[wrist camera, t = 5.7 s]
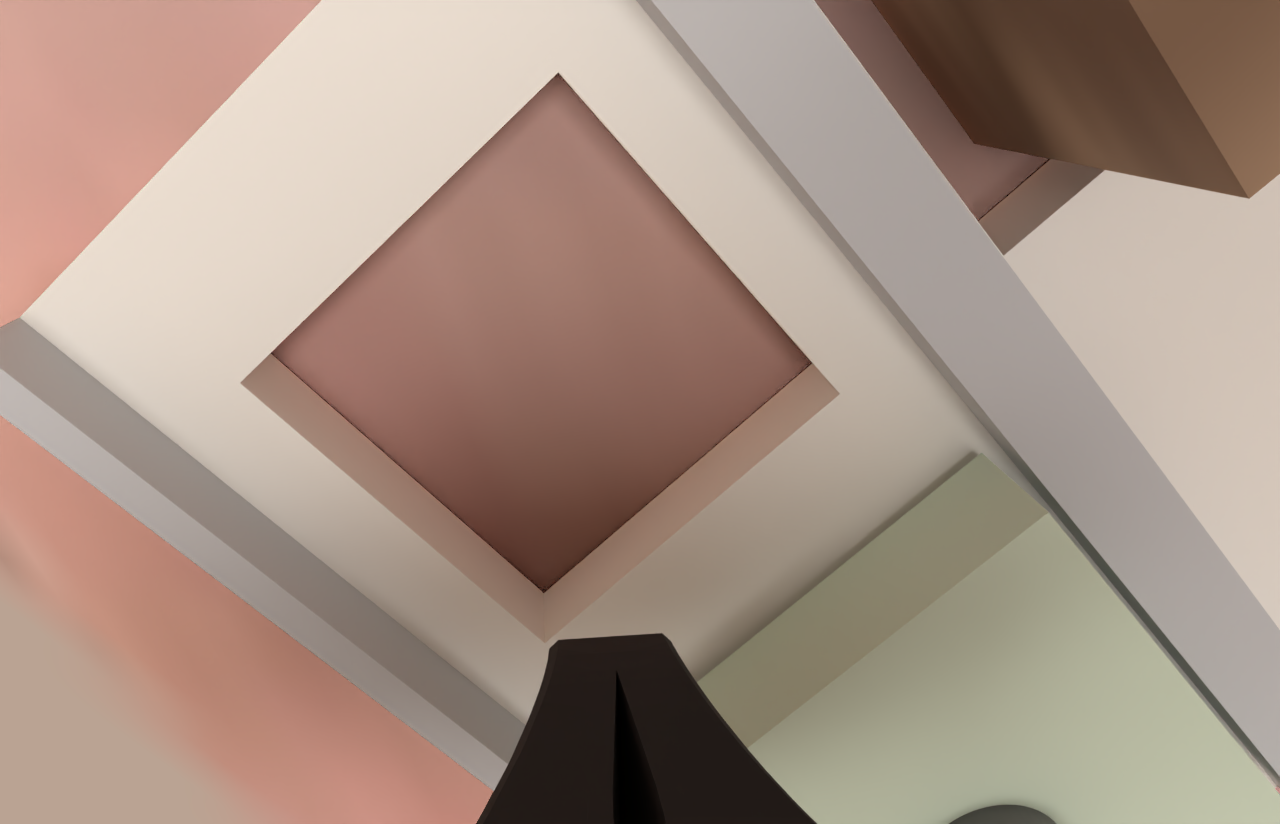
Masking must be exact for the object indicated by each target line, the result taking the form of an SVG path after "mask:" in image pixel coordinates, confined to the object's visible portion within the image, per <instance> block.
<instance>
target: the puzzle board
mask: <svg viewBox="0 0 1280 824" xmlns="http://www.w3.org/2000/svg"><path fill="white" fill-rule="evenodd" d="M557 73H559V75H560V76H561V77H562V78H563V79H564V80H565V81H566V82H567V84H568V85H569V86H570V87H571V88H572V89H573V90H574V92H575V93H576V94H577V95H578V96H579V97H580V98H581V100H582V101H583V102H584V103H585V104H586V105H587V106H588V108H589V109H590V110H591V111H592V112H593V113H594V114H595V116H596V117H597V118H598V119H599V120H600V121H601V122H602V124H603V125H604V126H605V127H606V128H607V129H608V130H609V132H610V133H611V134H612V135H613V136H614V137H615V138H616V140H617V141H618V142H619V143H620V144H621V145H622V146H623V148H624V149H625V150H626V151H627V152H628V153H629V154H630V156H631V157H632V158H633V159H634V160H635V161H636V162H637V164H638V165H639V166H640V167H641V168H642V169H643V170H644V172H645V173H646V174H647V175H648V176H649V177H650V178H651V180H652V181H653V182H654V183H655V184H656V185H657V186H658V188H659V189H660V190H661V191H662V192H663V193H664V194H665V196H666V197H667V198H668V199H669V200H670V201H671V202H672V204H673V205H674V206H675V207H676V208H677V209H678V210H679V212H680V213H681V214H682V215H683V216H684V217H685V218H686V220H687V221H688V222H689V223H690V224H691V225H692V226H693V228H694V229H695V230H696V231H697V232H698V233H699V234H700V236H701V237H702V238H703V239H704V240H705V241H706V242H707V244H708V245H709V246H710V247H711V248H712V249H713V250H714V252H715V253H716V254H717V255H718V256H719V257H720V258H721V260H722V261H723V262H724V263H725V264H726V265H727V266H728V268H729V269H730V270H731V271H732V272H733V273H734V274H735V276H736V277H737V278H738V279H739V280H740V281H741V282H742V284H743V285H744V286H745V287H746V288H747V289H748V290H749V292H750V293H751V294H752V295H753V296H754V297H755V298H756V300H757V301H758V302H759V303H760V304H761V305H762V306H763V307H764V309H765V310H766V311H767V312H768V313H769V314H770V315H771V317H772V318H773V319H774V320H775V321H776V322H777V323H778V325H779V326H780V327H781V328H782V329H783V330H784V331H785V333H786V334H787V335H788V336H789V337H790V338H791V339H792V341H793V342H794V343H795V344H796V345H797V346H798V347H799V349H800V350H801V351H802V352H803V353H804V354H805V355H806V357H807V358H808V359H809V360H810V361H811V362H812V364H811V365H810V366H808V367H807V368H806V369H805V370H804V371H803V372H801V373H800V374H799V375H798V376H797V377H796V378H794V379H793V380H792V381H791V382H790V383H789V384H787V385H786V386H785V387H784V388H783V389H782V390H780V391H779V392H778V393H777V394H776V395H775V396H773V397H772V398H771V399H770V400H769V401H768V402H766V403H765V404H764V405H763V406H762V407H761V408H759V409H758V410H757V411H756V412H755V413H754V414H752V415H751V416H750V417H749V418H748V419H747V420H745V421H744V422H743V423H742V424H741V425H740V426H738V427H737V428H736V429H735V430H734V431H733V432H731V433H730V434H729V435H728V436H727V437H726V438H724V439H723V440H722V441H721V442H720V443H719V444H717V445H716V446H715V447H714V448H713V449H712V450H710V451H709V452H708V453H707V454H706V455H705V456H703V457H702V458H701V459H700V460H699V461H698V462H696V463H695V464H694V465H693V466H692V467H691V468H689V469H688V470H687V471H686V472H685V473H684V474H682V475H681V476H680V477H679V478H678V479H677V480H675V481H674V482H673V483H672V484H671V485H670V486H668V487H667V488H666V489H665V490H664V491H663V492H661V493H660V494H659V495H658V496H657V497H656V498H654V499H653V500H652V501H651V502H650V503H649V504H647V505H646V506H645V507H644V508H643V509H642V510H640V511H639V512H638V513H637V514H636V515H635V516H633V517H632V518H631V519H630V520H629V521H627V522H626V523H625V524H624V525H623V526H622V527H620V528H619V529H618V530H617V531H616V532H615V533H613V534H612V535H611V536H610V537H609V538H608V539H606V540H605V541H604V542H603V543H602V544H601V545H599V546H598V547H597V548H596V549H595V550H594V551H592V552H591V553H590V554H589V555H588V556H587V557H585V558H584V559H583V560H582V561H581V562H580V563H578V564H577V565H576V566H575V567H574V568H573V569H571V570H570V571H569V572H568V573H567V574H566V575H564V576H563V577H562V578H561V579H560V580H559V581H557V582H556V583H555V584H554V585H553V586H552V587H550V588H549V589H548V590H547V591H546V592H545V593H543V592H542V591H541V590H540V589H538V588H537V587H536V586H535V585H534V584H533V583H532V582H531V581H529V580H528V579H527V578H526V577H525V576H524V575H523V574H521V573H520V572H519V571H518V570H517V569H516V568H515V567H513V566H512V565H511V564H510V563H509V562H508V561H507V560H505V559H504V558H503V557H502V556H501V555H500V554H499V553H497V552H496V551H495V550H494V549H493V548H492V547H491V546H490V545H488V544H487V543H486V542H485V541H484V540H483V539H482V538H480V537H479V536H478V535H477V534H476V533H475V532H474V531H472V530H471V529H470V528H469V527H468V526H467V525H466V524H464V523H463V522H462V521H461V520H460V519H459V518H458V517H456V516H455V515H454V514H453V513H452V512H451V511H450V510H449V509H447V508H446V507H445V506H444V505H443V504H442V503H441V502H439V501H438V500H437V499H436V498H435V497H434V496H433V495H431V494H430V493H429V492H428V491H427V490H426V489H425V488H423V487H422V486H421V485H420V484H419V483H418V482H417V481H415V480H414V479H413V478H412V477H411V476H410V475H409V474H408V473H406V472H405V471H404V470H403V469H402V468H401V467H400V466H398V465H397V464H396V463H395V462H394V461H393V460H392V459H390V458H389V457H388V456H387V455H386V454H385V453H384V452H382V451H381V450H380V449H379V448H378V447H377V446H376V445H374V444H373V443H372V442H371V441H370V440H369V439H368V438H367V437H365V436H364V435H363V434H362V433H361V432H360V431H359V430H357V429H356V428H355V427H354V426H353V425H352V424H351V423H349V422H348V421H347V420H346V419H345V418H344V417H343V416H341V415H340V414H339V413H338V412H337V411H336V410H335V409H333V408H332V407H331V406H330V405H329V404H328V403H327V402H326V401H324V400H323V399H322V398H321V397H320V396H319V395H318V394H316V393H315V392H314V391H313V390H312V389H311V388H310V387H308V386H307V385H306V384H305V383H304V382H303V381H302V380H300V379H299V378H298V377H297V376H296V375H295V374H294V373H292V372H291V371H290V370H289V369H288V368H287V367H286V366H285V365H283V364H282V363H281V362H280V361H279V360H278V359H277V358H275V357H274V356H273V355H272V354H271V352H272V351H273V350H274V349H275V348H276V347H277V346H278V345H279V344H280V343H281V342H282V341H283V340H284V339H285V338H286V337H287V336H289V335H290V334H291V333H292V332H293V331H294V330H295V329H296V328H297V327H298V326H299V325H300V324H301V323H302V322H303V321H304V320H305V319H306V318H307V317H308V316H309V315H310V314H311V313H312V312H313V311H314V310H315V309H316V308H317V307H318V306H319V305H320V304H321V303H322V302H323V301H324V300H325V299H326V298H327V297H329V296H330V295H331V294H332V293H333V292H334V291H335V290H336V289H337V288H338V287H339V286H340V285H341V284H342V283H343V282H344V281H345V280H346V279H347V278H348V277H349V276H350V275H351V274H352V273H353V272H354V271H355V270H356V269H357V268H358V267H359V266H360V265H361V264H362V263H363V262H364V261H365V260H366V259H367V258H369V257H370V256H371V255H372V254H373V253H374V252H375V251H376V250H377V249H378V248H379V247H380V246H381V245H382V244H383V243H384V242H385V241H386V240H387V239H388V238H389V237H390V236H391V235H392V234H393V233H394V232H395V231H396V230H397V229H398V228H399V227H400V226H401V225H402V224H403V223H404V222H405V221H406V220H407V219H408V218H410V217H411V216H412V215H413V214H414V213H415V212H416V211H417V210H418V209H419V208H420V207H421V206H422V205H423V204H424V203H425V202H426V201H427V200H428V199H429V198H430V197H431V196H432V195H433V194H434V193H435V192H436V191H437V190H438V189H439V188H440V187H441V186H442V185H443V184H444V183H445V182H446V181H447V180H448V179H450V178H451V177H452V176H453V175H454V174H455V173H456V172H457V171H458V170H459V169H460V168H461V167H462V166H463V165H464V164H465V163H466V162H467V161H468V160H469V159H470V158H471V157H472V156H473V155H474V154H475V153H476V152H477V151H478V150H479V149H480V148H481V147H482V146H483V145H484V144H485V143H486V142H487V141H488V140H489V139H491V138H492V137H493V136H494V135H495V134H496V133H497V132H498V131H499V130H500V129H501V128H502V127H503V126H504V125H505V124H506V123H507V122H508V121H509V120H510V119H511V118H512V117H513V116H514V115H515V114H516V113H517V112H518V111H519V110H520V109H521V108H522V107H523V106H524V105H525V104H526V103H527V102H528V101H529V100H531V99H532V98H533V97H534V96H535V95H536V94H537V93H538V92H539V91H540V90H541V89H542V88H543V87H544V86H545V85H546V84H547V83H548V82H549V81H550V80H551V79H552V78H553V77H554V76H555V75H556V74H557ZM0 415H1V416H2V417H3V418H5V419H6V420H7V421H9V422H10V423H11V424H13V425H14V426H15V427H17V428H18V429H19V430H21V431H22V432H23V433H24V434H26V435H27V436H28V437H30V438H31V439H32V440H34V441H35V442H36V443H38V444H39V445H40V446H42V447H43V448H44V449H45V450H47V451H48V452H49V453H51V454H52V455H53V456H55V457H56V458H57V459H59V460H60V461H61V462H63V463H64V464H65V465H66V466H68V467H69V468H70V469H72V470H73V471H74V472H76V473H77V474H78V475H80V476H81V477H82V478H84V479H85V480H86V481H87V482H89V483H90V484H91V485H93V486H94V487H95V488H97V489H98V490H99V491H101V492H102V493H103V494H105V495H106V496H107V497H108V498H110V499H111V500H112V501H114V502H115V503H116V504H118V505H119V506H120V507H122V508H123V509H124V510H126V511H127V512H128V513H129V514H131V515H132V516H133V517H135V518H136V519H137V520H139V521H140V522H141V523H143V524H144V525H145V526H147V527H148V528H149V529H150V530H152V531H153V532H154V533H156V534H157V535H158V536H160V537H161V538H162V539H164V540H165V541H166V542H168V543H169V544H170V545H171V546H173V547H174V548H175V549H177V550H178V551H179V552H181V553H182V554H183V555H185V556H186V557H187V558H189V559H190V560H191V561H192V562H194V563H195V564H196V565H198V566H199V567H200V568H202V569H203V570H204V571H206V572H207V573H208V574H210V575H211V576H212V577H213V578H215V579H216V580H217V581H219V582H220V583H221V584H223V585H224V586H225V587H227V588H228V589H229V590H231V591H232V592H233V593H234V594H236V595H237V596H238V597H240V598H241V599H242V600H244V601H245V602H246V603H248V604H249V605H250V606H252V607H253V608H254V609H255V610H257V611H258V612H259V613H261V614H262V615H263V616H265V617H266V618H267V619H269V620H270V621H271V622H273V623H274V624H275V625H276V626H278V627H279V628H280V629H282V630H283V631H284V632H286V633H287V634H288V635H290V636H291V637H292V638H294V639H295V640H296V641H297V642H299V643H300V644H301V645H303V646H304V647H305V648H307V649H308V650H309V651H311V652H312V653H313V654H315V655H316V656H317V657H318V658H320V659H321V660H322V661H324V662H325V663H326V664H328V665H329V666H330V667H332V668H333V669H334V670H336V671H337V672H338V673H339V674H341V675H342V676H343V677H345V678H346V679H347V680H349V681H350V682H351V683H353V684H354V685H355V686H357V687H358V688H359V689H360V690H362V691H363V692H364V693H366V694H367V695H368V696H370V697H371V698H372V699H374V700H375V701H376V702H378V703H379V704H380V705H381V706H383V707H384V708H385V709H387V710H388V711H389V712H391V713H392V714H393V715H395V716H396V717H397V718H399V719H400V720H401V721H402V722H404V723H405V724H406V725H408V726H409V727H410V728H412V729H413V730H414V731H416V732H417V733H418V734H420V735H421V736H422V737H423V738H425V739H426V740H427V741H429V742H430V743H431V744H433V745H434V746H435V747H437V748H438V749H439V750H441V751H442V752H443V753H444V754H446V755H447V756H448V757H450V758H451V759H452V760H454V761H455V762H456V763H458V764H459V765H460V766H462V767H463V768H464V769H465V770H467V771H468V772H469V773H471V774H472V775H473V776H475V777H476V778H477V779H479V780H480V781H481V782H483V783H484V784H485V785H486V786H488V787H489V788H490V789H492V790H493V791H494V790H495V788H496V786H497V784H498V782H499V781H500V779H501V777H502V775H503V773H504V771H505V769H506V767H507V765H508V763H509V761H510V759H511V757H512V755H513V753H514V750H515V748H516V746H517V744H518V741H519V739H520V737H521V735H522V732H523V730H524V728H525V725H526V723H527V721H528V719H529V716H530V714H531V711H532V709H533V706H534V703H535V701H536V698H537V695H538V692H539V690H540V686H541V683H542V680H543V677H544V673H545V669H546V665H547V661H548V654H549V648H550V647H551V646H552V645H554V644H555V643H556V642H557V641H558V640H562V639H578V638H593V637H609V636H624V635H640V634H655V633H663V634H664V635H665V636H666V637H667V638H668V639H669V640H670V641H671V642H672V644H673V646H674V647H675V649H676V651H677V652H678V654H679V656H680V657H681V659H682V661H683V662H684V664H685V665H686V667H687V669H688V670H689V672H690V673H691V675H692V676H693V678H694V679H695V681H696V682H698V681H699V680H700V679H701V678H703V677H704V676H705V675H706V674H708V673H709V672H710V671H711V670H713V669H714V668H715V667H716V666H718V665H719V664H720V663H721V662H723V661H724V660H725V659H726V658H727V657H729V656H730V655H731V654H732V653H734V652H735V651H736V650H737V649H739V648H740V647H741V646H742V645H744V644H745V643H746V642H747V641H749V640H750V639H751V638H752V637H754V636H755V635H756V634H757V633H758V632H760V631H761V630H762V629H763V628H765V627H766V626H767V625H768V624H770V623H771V622H772V621H773V620H775V619H776V618H777V617H778V616H780V615H781V614H782V613H783V612H784V611H786V610H787V609H788V608H789V607H791V606H792V605H793V604H794V603H796V602H797V601H798V600H799V599H801V598H802V597H803V596H804V595H806V594H807V593H808V592H809V591H811V590H812V589H813V588H814V587H815V586H817V585H818V584H819V583H820V582H822V581H823V580H824V579H825V578H827V577H828V576H829V575H830V574H832V573H833V572H834V571H835V570H837V569H838V568H839V567H840V566H842V565H843V564H844V563H845V562H846V561H848V560H849V559H850V558H851V557H853V556H854V555H855V554H856V553H858V552H859V551H860V550H861V549H863V548H864V547H865V546H866V545H868V544H869V543H870V542H871V541H872V540H874V539H875V538H876V537H877V536H879V535H880V534H881V533H882V532H884V531H885V530H886V529H887V528H889V527H890V526H891V525H892V524H894V523H895V522H896V521H897V520H899V519H900V518H901V517H902V516H903V515H905V514H906V513H907V512H908V511H910V510H911V509H912V508H913V507H915V506H916V505H917V504H918V503H920V502H921V501H922V500H923V499H925V498H926V497H927V496H928V495H930V494H931V493H932V492H933V491H934V490H936V489H937V488H938V487H939V486H941V485H942V484H943V483H944V482H946V481H947V480H948V479H949V478H951V477H952V476H953V475H954V474H956V473H957V472H958V471H959V470H960V469H962V468H963V467H964V466H965V465H967V464H968V463H969V462H970V461H972V460H973V459H974V458H975V457H977V456H978V455H979V454H980V453H982V454H984V455H985V456H986V457H987V458H988V459H989V460H990V461H991V462H993V463H994V464H995V465H996V466H997V467H998V468H999V469H1000V470H1002V471H1003V472H1004V473H1005V474H1006V475H1007V476H1008V477H1009V478H1011V479H1012V480H1013V481H1014V482H1015V483H1016V484H1017V485H1018V486H1020V487H1021V488H1022V489H1023V490H1024V491H1025V492H1026V493H1027V494H1029V495H1030V496H1031V497H1032V498H1033V499H1034V500H1035V501H1037V502H1038V503H1039V504H1040V505H1041V506H1042V507H1043V508H1044V509H1046V510H1047V511H1048V512H1049V513H1050V515H1051V516H1052V517H1053V518H1054V519H1055V521H1056V522H1057V523H1058V524H1059V526H1060V527H1061V528H1062V529H1063V530H1064V532H1065V533H1066V534H1067V535H1068V537H1069V538H1070V539H1071V540H1072V541H1073V543H1074V544H1075V545H1076V546H1077V548H1078V549H1079V550H1080V551H1081V552H1082V554H1083V555H1084V556H1085V557H1086V559H1087V560H1088V561H1089V562H1090V563H1091V565H1092V566H1093V567H1094V568H1095V570H1096V571H1097V572H1098V573H1099V574H1100V576H1101V577H1102V578H1103V579H1104V581H1105V582H1106V583H1107V584H1108V585H1109V587H1110V588H1111V589H1112V590H1113V592H1114V593H1115V594H1116V595H1117V596H1118V598H1119V599H1120V600H1121V601H1122V603H1123V604H1124V605H1125V606H1126V607H1127V609H1128V610H1129V611H1130V612H1131V613H1132V615H1133V616H1134V617H1135V618H1136V620H1137V621H1138V622H1139V623H1140V624H1141V626H1142V627H1143V628H1144V629H1145V631H1146V632H1147V633H1148V634H1149V635H1150V637H1151V638H1152V639H1153V640H1154V642H1155V643H1156V644H1157V645H1158V646H1159V648H1160V649H1161V650H1162V651H1163V653H1164V654H1165V655H1166V656H1167V657H1168V659H1169V660H1170V661H1171V662H1172V664H1173V665H1174V666H1175V667H1176V668H1177V670H1178V671H1179V672H1180V673H1181V675H1182V676H1183V677H1184V678H1185V679H1186V681H1187V682H1188V683H1189V684H1190V686H1191V687H1192V688H1193V689H1194V690H1195V692H1196V693H1197V694H1198V695H1199V697H1200V698H1201V699H1202V700H1203V701H1204V703H1205V704H1206V705H1207V706H1208V708H1209V709H1210V710H1211V711H1212V712H1213V714H1214V715H1215V716H1216V717H1217V719H1218V720H1219V721H1220V722H1221V723H1222V725H1223V726H1224V727H1225V728H1226V730H1227V731H1228V732H1229V733H1230V734H1231V736H1232V737H1233V738H1234V739H1235V741H1236V742H1237V743H1238V744H1239V745H1240V747H1241V748H1242V749H1243V750H1244V752H1245V753H1246V754H1247V755H1248V756H1249V758H1250V759H1251V760H1252V761H1253V762H1254V764H1255V765H1256V766H1257V767H1258V769H1259V770H1260V771H1261V772H1262V773H1263V775H1264V776H1265V777H1266V778H1267V780H1268V781H1269V782H1270V783H1271V784H1272V786H1273V787H1274V788H1275V787H1277V786H1278V787H1279V788H1280V174H1279V175H1278V176H1277V177H1275V178H1274V179H1273V180H1272V181H1270V182H1269V183H1268V184H1267V185H1266V186H1264V187H1263V188H1262V189H1261V190H1259V191H1258V192H1257V193H1256V194H1254V195H1253V196H1252V197H1251V198H1250V199H1248V198H1243V197H1238V196H1233V195H1228V194H1223V193H1218V192H1213V191H1208V190H1203V189H1198V188H1193V187H1188V186H1183V185H1178V184H1173V183H1168V182H1163V181H1158V180H1153V179H1148V178H1143V177H1138V176H1133V175H1128V174H1123V173H1118V172H1113V171H1108V170H1103V169H1098V168H1093V167H1089V166H1084V165H1079V164H1074V163H1069V162H1064V161H1059V160H1054V159H1050V160H1049V161H1048V162H1047V163H1045V164H1044V165H1043V166H1042V167H1041V168H1040V169H1038V170H1037V171H1036V172H1035V173H1034V174H1033V175H1031V176H1030V177H1029V178H1028V179H1027V180H1026V181H1024V182H1023V183H1022V184H1021V185H1020V186H1019V187H1017V188H1016V189H1015V190H1014V191H1013V192H1012V193H1010V194H1009V195H1008V196H1007V197H1006V198H1005V199H1003V200H1002V201H1001V202H1000V203H999V204H998V205H996V206H995V207H994V208H993V209H992V210H991V211H989V212H988V213H987V214H986V215H985V216H984V217H982V218H981V219H980V220H979V221H977V219H976V218H975V217H974V215H973V214H972V213H971V211H970V210H969V209H968V207H967V206H966V205H965V203H964V202H963V201H962V199H961V198H960V196H959V195H958V194H957V192H956V191H955V190H954V188H953V187H952V186H951V184H950V183H949V182H948V180H947V179H946V178H945V176H944V175H943V174H942V172H941V171H940V169H939V168H938V167H937V165H936V164H935V163H934V161H933V160H932V159H931V157H930V156H929V155H928V153H927V152H926V151H925V149H924V148H923V147H922V145H921V144H920V142H919V141H918V140H917V138H916V137H915V136H914V134H913V133H912V132H911V130H910V129H909V128H908V126H907V125H906V124H905V122H904V121H903V120H902V118H901V117H900V116H899V114H898V113H897V111H896V110H895V109H894V107H893V106H892V105H891V103H890V102H889V101H888V99H887V98H886V97H885V95H884V94H883V93H882V91H881V90H880V89H879V87H878V86H877V84H876V83H875V82H874V80H873V79H872V78H871V76H870V75H869V74H868V72H867V71H866V70H865V68H864V67H863V66H862V64H861V63H860V62H859V60H858V59H857V57H856V56H855V55H854V53H853V52H852V51H851V49H850V48H849V47H848V45H847V44H846V43H845V41H844V40H843V39H842V37H841V36H840V35H839V33H838V32H837V30H836V29H835V28H834V26H833V25H832V24H831V22H830V21H829V20H828V18H827V17H826V16H825V14H824V13H823V12H822V10H821V9H820V8H819V6H818V5H817V4H816V2H815V1H814V0H321V2H320V3H319V4H318V5H317V6H316V7H315V8H314V9H313V10H312V11H311V12H310V13H309V14H308V15H307V16H306V17H305V18H304V19H303V20H302V21H301V23H300V24H299V25H298V26H297V27H296V28H295V29H294V30H293V31H292V32H291V33H290V34H289V35H288V36H287V37H286V38H285V39H284V40H283V41H282V42H281V44H280V45H279V46H278V47H277V48H276V49H275V50H274V51H273V52H272V53H271V54H270V55H269V56H268V57H267V58H266V59H265V60H264V61H263V62H262V63H261V65H260V66H259V67H258V68H257V69H256V70H255V71H254V72H253V73H252V74H251V75H250V76H249V77H248V78H247V79H246V80H245V81H244V82H243V83H242V84H241V86H240V87H239V88H238V89H237V90H236V91H235V92H234V93H233V94H232V95H231V96H230V97H229V98H228V99H227V100H226V101H225V102H224V103H223V104H222V105H221V107H220V108H219V109H218V110H217V111H216V112H215V113H214V114H213V115H212V116H211V117H210V118H209V119H208V120H207V121H206V122H205V123H204V124H203V125H202V126H201V128H200V129H199V130H198V131H197V132H196V133H195V134H194V135H193V136H192V137H191V138H190V139H189V140H188V141H187V142H186V143H185V144H184V145H183V146H182V147H181V149H180V150H179V151H178V152H177V153H176V154H175V155H174V156H173V157H172V158H171V159H170V160H169V161H168V162H167V163H166V164H165V165H164V166H163V167H162V168H161V170H160V171H159V172H158V173H157V174H156V175H155V176H154V177H153V178H152V179H151V180H150V181H149V182H148V183H147V184H146V185H145V186H144V187H143V188H142V189H141V191H140V192H139V193H138V194H137V195H136V196H135V197H134V198H133V199H132V200H131V201H130V202H129V203H128V204H127V205H126V206H125V207H124V208H123V209H122V210H121V212H120V213H119V214H118V215H117V216H116V217H115V218H114V219H113V220H112V221H111V222H110V223H109V224H108V225H107V226H106V227H105V228H104V229H103V230H102V231H101V233H100V234H99V235H98V236H97V237H96V238H95V239H94V240H93V241H92V242H91V243H90V244H89V245H88V246H87V247H86V248H85V249H84V250H83V251H82V252H81V254H80V255H79V256H78V257H77V258H76V259H75V260H74V261H73V262H72V263H71V264H70V265H69V266H68V267H67V268H66V269H65V270H64V271H63V272H62V273H61V275H60V276H59V277H58V278H57V279H56V280H55V281H54V282H53V283H52V284H51V285H50V286H49V287H48V288H47V289H46V290H45V291H44V292H43V293H42V294H41V296H40V297H39V298H38V299H37V300H36V301H35V302H34V303H33V304H32V305H31V306H30V307H29V308H28V309H27V310H26V311H25V312H24V313H23V314H22V315H21V317H20V318H18V319H16V320H14V321H12V322H10V323H8V324H6V325H4V326H2V327H0Z"/></svg>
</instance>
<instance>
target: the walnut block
mask: <svg viewBox="0 0 1280 824" xmlns="http://www.w3.org/2000/svg"><path fill="white" fill-rule="evenodd" d="M872 2H873V3H874V5H875V6H876V7H877V9H878V10H879V12H880V13H881V14H882V16H883V17H884V19H885V20H886V21H887V23H888V24H889V26H890V27H891V28H892V30H893V31H894V33H895V34H896V35H897V37H898V38H899V39H900V41H901V42H902V44H903V45H904V46H905V48H906V49H907V51H908V52H909V53H910V55H911V56H912V58H913V59H914V60H915V62H916V63H917V65H918V66H919V67H920V69H921V70H922V72H923V73H924V74H925V76H926V77H927V79H928V80H929V81H930V83H931V84H932V86H933V87H934V88H935V90H936V91H937V92H938V94H939V95H940V97H941V98H942V99H943V101H944V102H945V104H946V105H947V106H948V108H949V109H950V111H951V112H952V113H953V115H954V116H955V118H956V119H957V120H958V122H959V123H960V125H961V126H962V127H963V129H964V130H965V132H966V133H967V134H968V136H969V137H970V139H971V140H972V141H973V143H974V144H979V145H984V146H989V147H994V148H999V149H1004V150H1009V151H1014V152H1019V153H1024V154H1029V155H1034V156H1039V157H1044V158H1049V159H1054V160H1059V161H1064V162H1069V163H1074V164H1079V165H1084V166H1089V167H1093V168H1098V169H1103V170H1108V171H1113V172H1118V173H1123V174H1128V175H1133V176H1138V177H1143V178H1148V179H1153V180H1158V181H1163V182H1168V183H1173V184H1178V185H1183V186H1188V187H1193V188H1198V189H1203V190H1208V191H1213V192H1218V193H1223V194H1228V195H1233V196H1238V197H1243V198H1248V199H1250V198H1251V197H1252V196H1253V195H1254V194H1256V193H1257V192H1258V191H1259V190H1261V189H1262V188H1263V187H1264V186H1266V185H1267V184H1268V183H1269V182H1270V181H1272V180H1273V179H1274V178H1275V177H1277V176H1278V175H1279V174H1280V0H872Z"/></svg>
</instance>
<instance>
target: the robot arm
mask: <svg viewBox="0 0 1280 824" xmlns="http://www.w3.org/2000/svg"><path fill="white" fill-rule="evenodd" d="M476 824H817V823H816V822H815V821H814V820H813V819H812V818H811V817H810V816H809V815H808V814H807V813H806V812H805V811H804V810H803V809H802V808H801V807H800V806H799V805H798V804H797V803H796V802H795V801H794V800H793V799H792V798H791V797H790V796H789V795H788V794H787V792H786V791H785V790H784V789H783V788H782V787H781V786H780V785H779V784H778V783H777V782H776V781H775V779H774V778H773V777H772V776H771V775H770V774H769V773H768V772H767V771H766V770H765V769H764V767H763V766H762V765H761V764H760V763H759V762H758V760H757V759H756V758H755V757H754V756H753V755H752V753H751V752H750V751H749V750H748V749H747V747H746V746H745V745H744V744H743V743H742V741H741V740H740V739H739V738H738V736H737V735H736V734H735V733H734V731H733V730H732V729H731V728H730V726H729V725H728V724H727V723H726V721H725V720H724V719H723V718H722V716H721V715H720V714H719V712H718V711H717V710H716V708H715V707H714V706H713V704H712V703H711V702H710V700H709V699H708V698H707V696H706V695H705V693H704V692H703V691H702V689H701V688H700V686H699V685H698V683H697V682H696V681H695V679H694V678H693V676H692V675H691V673H690V672H689V670H688V669H687V667H686V665H685V664H684V662H683V661H682V659H681V657H680V656H679V654H678V652H677V651H676V649H675V647H674V646H673V644H672V642H671V641H670V640H669V639H668V638H667V637H666V636H665V635H664V634H663V633H655V634H640V635H624V636H609V637H593V638H578V639H562V640H558V641H557V642H556V643H555V644H554V645H552V646H551V647H550V648H549V654H548V661H547V665H546V669H545V673H544V677H543V680H542V683H541V686H540V690H539V692H538V695H537V698H536V701H535V703H534V706H533V709H532V711H531V714H530V716H529V719H528V721H527V723H526V725H525V728H524V730H523V732H522V735H521V737H520V739H519V741H518V744H517V746H516V748H515V750H514V753H513V755H512V757H511V759H510V761H509V763H508V765H507V767H506V769H505V771H504V773H503V775H502V777H501V779H500V781H499V782H498V784H497V786H496V788H495V790H494V792H493V794H492V796H491V797H490V799H489V801H488V803H487V805H486V807H485V809H484V811H483V812H482V814H481V816H480V818H479V820H478V821H477V823H476Z"/></svg>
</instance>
